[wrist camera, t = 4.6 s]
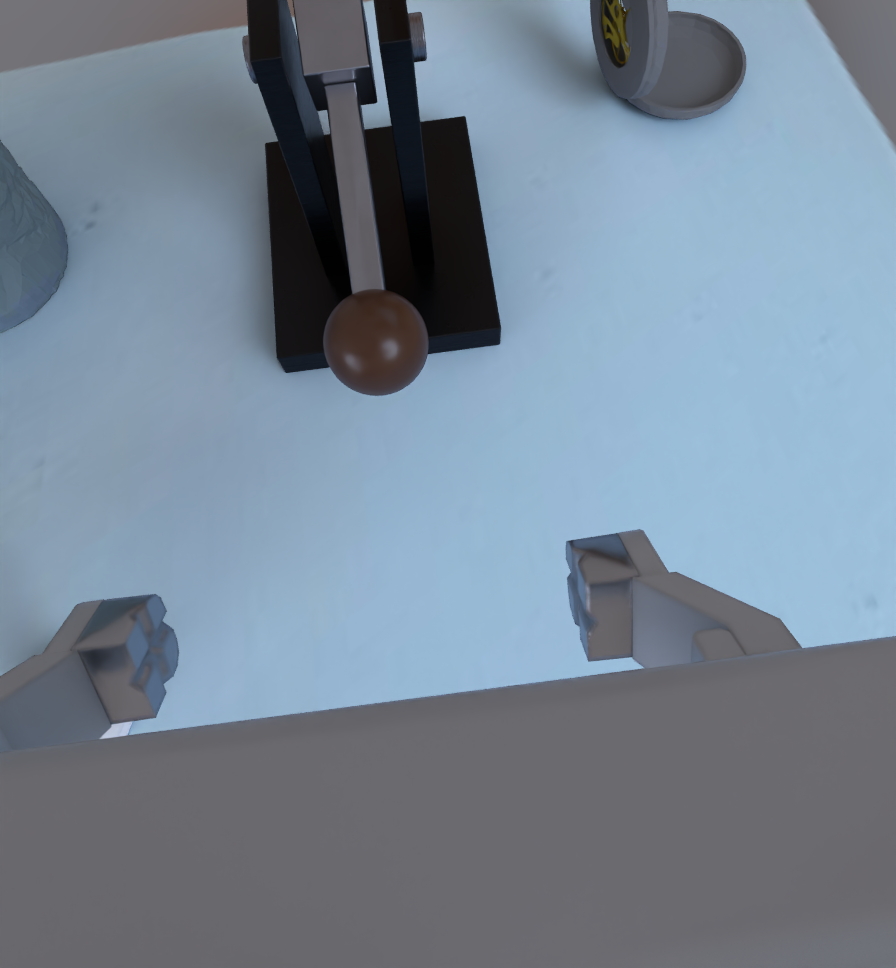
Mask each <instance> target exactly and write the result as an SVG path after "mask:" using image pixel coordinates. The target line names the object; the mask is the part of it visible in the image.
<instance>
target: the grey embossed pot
mask: <svg viewBox="0 0 896 968" xmlns="http://www.w3.org/2000/svg"><path fill="white" fill-rule="evenodd" d="M67 253H68V245H67V235H66V233H65V229H64V226H63V224H62V222H61V220H60V218H59V216H58V215H57V213H56V212H55V210H54V209H53V208H52V206H51V205H50V204H49V202H48V201H47V200H46V199H45V198H44V196H43V195H42V194H41V192H40V191H39V190H38V188H37V187H36V186H35V184H34V183H33V182H32V181H30V180H29V179H28V177H27V176H26V175H25V173H24V172H23V170H22V168H21V167H19V166H18V164H17V163H16V161H15V160H14V158H13V156H12V155H11V153H10V152H9V150H8V149H7V148H6V147H5V146H4V145H3V143H2V142H1V140H0V332H3V331H5V330H7V329H10V328H12V327H14V326H16V325H18V324H19V323H21V322H23V321H25V320H26V319H28V318H30V317H31V316H33V315H34V314H35V313H36V312H37V311H38V310H39V309H40V308H41V307H42V306H43V305H44V304H45V303H46V302H47V301H48V300H49V298H50V296H51V295H52V293H54V292H56V291H57V288H58V286H59V280H60V279H61V278H62V277H63V276H64V270H65V268H66V262H67Z"/></svg>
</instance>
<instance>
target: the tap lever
mask: <svg viewBox="0 0 896 968" xmlns="http://www.w3.org/2000/svg"><path fill="white" fill-rule="evenodd" d="M293 7H294V14H295V22H296V29H297V36H298V43H299V51H300V58H301V65H302V72H303V76H304V79H305V82H306V84H307V87H308V90H309V92H310V95H311V98H312V100H313V103H314V105H315V108H316V110H317V111H322V110H327V112H328V120H329V127H330V134H331V142H332V149H333V156H334V164H335V171H336V178H337V186H338V193H339V200H340V208H341V215H342V222H343V230H344V237H345V244H346V252H347V259H348V266H349V274H350V281H351V288H352V295H350V296H348V297H346V298H345V299H343V300H342V301H341V302H340V303H339V304H338V305H337V306H336V307H335V308H334V310H333V311H332V313H331V314H330V316H329V318H328V320H327V323H326V326H325V330H324V337H323V346H324V353H325V357H326V360H327V362H328V364H329V366H330V368H331V370H332V371H333V373H334V374H335V376H336V377H337V378H338V379H339V380H340V381H341V382H342V383H343V384H344V385H346V386H347V387H349V388H350V389H352V390H354V391H356V392H359V393H362V394H366V395H372V396H382V395H388V394H392V393H395V392H398V391H400V390H402V389H403V388H405V387H406V386H408V385H409V384H410V383H411V382H413V381H414V380H415V378H416V377H417V376H418V375H419V373H420V372H421V370H422V368H423V366H424V364H425V361H426V358H427V354H428V346H429V340H428V332H427V328H426V325H425V323H424V320H423V318H422V316H421V315H420V313H419V312H418V310H417V309H416V308H415V307H414V306H413V304H411V303H410V302H409V301H408V300H407V299H405V298H404V297H402V296H400V295H398V294H396V293H394V292H391V291H388V290H386V286H385V279H384V272H383V264H382V257H381V249H380V242H379V234H378V227H377V220H376V212H375V205H374V197H373V190H372V182H371V175H370V168H369V160H368V153H367V145H366V138H365V131H364V123H363V116H362V108H361V105H366V104H374V103H377V95H376V88H375V80H374V73H373V65H372V58H371V50H370V43H369V35H368V28H367V22H366V16H365V11H364V6H363V0H293Z"/></svg>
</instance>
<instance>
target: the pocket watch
mask: <svg viewBox="0 0 896 968" xmlns="http://www.w3.org/2000/svg"><path fill="white" fill-rule="evenodd" d="M622 3H623V7H622V4H621V0H620V4H619V0H590V12H591V25H592V33H593V40H594V44H595V49H596V53H597V57H598V61H599V64H600V67H601V70H602V73H603V75H604V77H605V79H606V81H607V83H608V85H609V86H610V88H611V89H612V91H613V92H614V93H615V94H616V95H617V96H618V97H621V98H624V99H627V100H628V101H629V102H630V103H631V104H633V105H635V106H636V107H638V108H639V109H641V110H643V111H644V112H646V113H648V114H651V115H655V116H658V117H661V118H665V119H685V120H688V119H692V118H696V117H700V116H704V115H707V114H711V113H713V112H714V111H716V110H718V109H720V108H721V107H722V106H724V105H725V104H726V103H728V102H729V101H730V100H731V98H732V97H733V96H734V94H735V93H736V92H737V90H738V89H739V87H740V86H741V84H742V82H743V79H744V75H745V71H746V55H745V52H744V49H743V47H742V45H741V43H740V41H739V40H738V39H737V37H736V36H735V35H734V34H733V33H732V32H731V31H730V30H729V29H728V28H727V27H725V26H724V25H723V24H721V23H719V22H717V21H716V20H714V19H712V18H709V17H706V16H704V15H701V14H695V13H688V12H681V11H671V12H668V6H667V0H622ZM620 5H621V6H620ZM624 8H625V10H626V11H624ZM623 13H624V14H625V15H624V14H623Z"/></svg>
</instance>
